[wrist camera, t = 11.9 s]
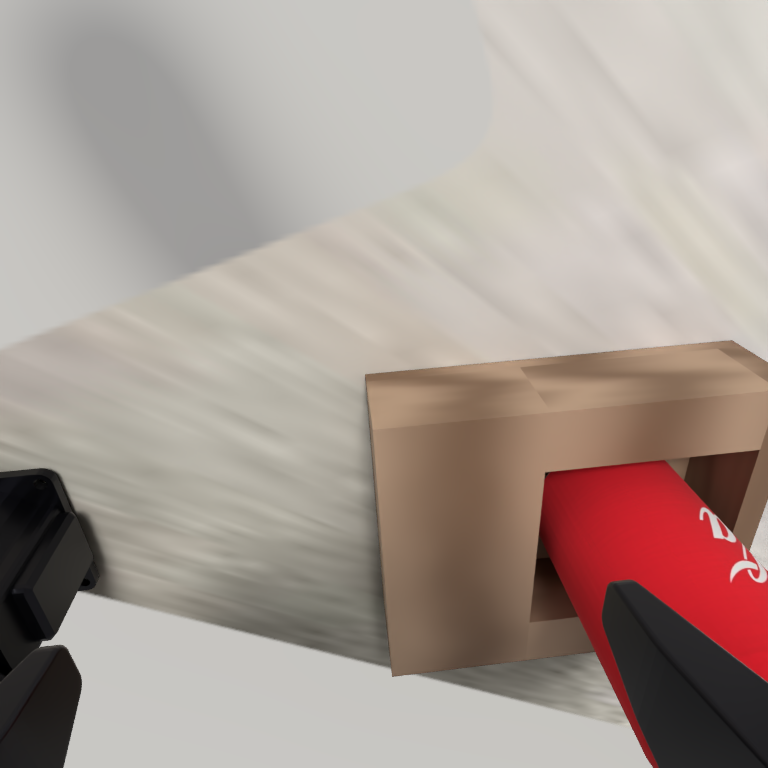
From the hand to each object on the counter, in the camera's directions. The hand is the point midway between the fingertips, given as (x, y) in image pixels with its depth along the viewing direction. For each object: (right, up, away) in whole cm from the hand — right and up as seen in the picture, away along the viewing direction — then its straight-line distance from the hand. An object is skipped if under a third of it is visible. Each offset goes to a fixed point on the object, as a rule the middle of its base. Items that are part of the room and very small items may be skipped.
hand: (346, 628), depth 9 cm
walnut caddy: (+8, -1, +16) cm, 18 cm away
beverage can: (+10, -1, +16) cm, 19 cm away
